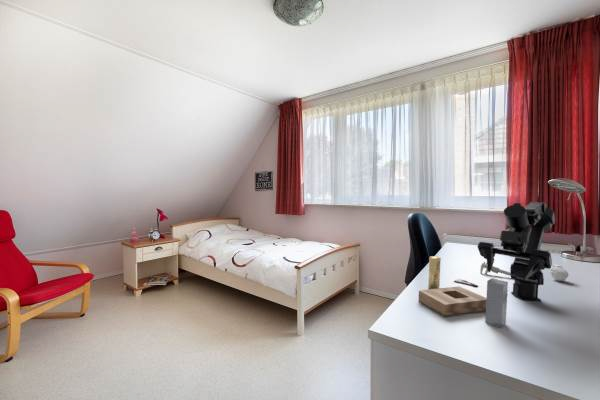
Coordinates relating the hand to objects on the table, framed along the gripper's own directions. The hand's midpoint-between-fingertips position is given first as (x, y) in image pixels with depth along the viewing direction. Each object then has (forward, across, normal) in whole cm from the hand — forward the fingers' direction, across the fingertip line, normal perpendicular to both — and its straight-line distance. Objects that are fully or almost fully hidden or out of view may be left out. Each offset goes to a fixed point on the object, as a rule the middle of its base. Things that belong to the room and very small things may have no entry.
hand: (505, 275), depth 85 cm
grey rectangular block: (+15, 0, +4) cm, 15 cm away
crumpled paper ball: (-35, +4, +54) cm, 64 cm away
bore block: (+12, -13, +6) cm, 19 cm away
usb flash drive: (-6, -20, +26) cm, 33 cm away
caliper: (-24, -12, +44) cm, 52 cm away
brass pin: (+6, -24, +13) cm, 28 cm away
